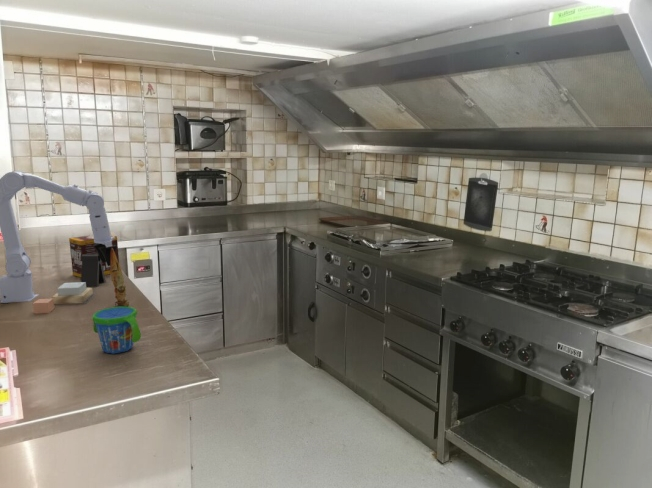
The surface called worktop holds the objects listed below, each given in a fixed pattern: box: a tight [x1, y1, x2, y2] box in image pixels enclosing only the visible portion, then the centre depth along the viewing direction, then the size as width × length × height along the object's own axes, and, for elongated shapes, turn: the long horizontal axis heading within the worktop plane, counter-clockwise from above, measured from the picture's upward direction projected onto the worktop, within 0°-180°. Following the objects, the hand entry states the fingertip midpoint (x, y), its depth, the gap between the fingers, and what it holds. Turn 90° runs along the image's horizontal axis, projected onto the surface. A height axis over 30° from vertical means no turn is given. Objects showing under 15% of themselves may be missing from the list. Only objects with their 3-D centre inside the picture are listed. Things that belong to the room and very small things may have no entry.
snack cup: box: [91, 306, 142, 355], centre depth 137 cm, size 16×10×10 cm
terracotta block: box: [32, 298, 55, 314], centre depth 167 cm, size 4×4×4 cm
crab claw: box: [109, 248, 130, 307], centre depth 172 cm, size 7×5×20 cm
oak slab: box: [51, 287, 94, 305], centre depth 180 cm, size 10×10×2 cm
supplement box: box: [68, 234, 120, 279], centre depth 216 cm, size 10×15×16 cm
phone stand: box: [80, 254, 107, 288], centre depth 198 cm, size 9×6×12 cm, turn 2°
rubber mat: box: [54, 293, 97, 306], centre depth 180 cm, size 12×12×1 cm
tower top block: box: [57, 281, 87, 296], centre depth 179 cm, size 7×7×2 cm
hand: (108, 263), depth 190 cm, fingers open, 7 cm apart
